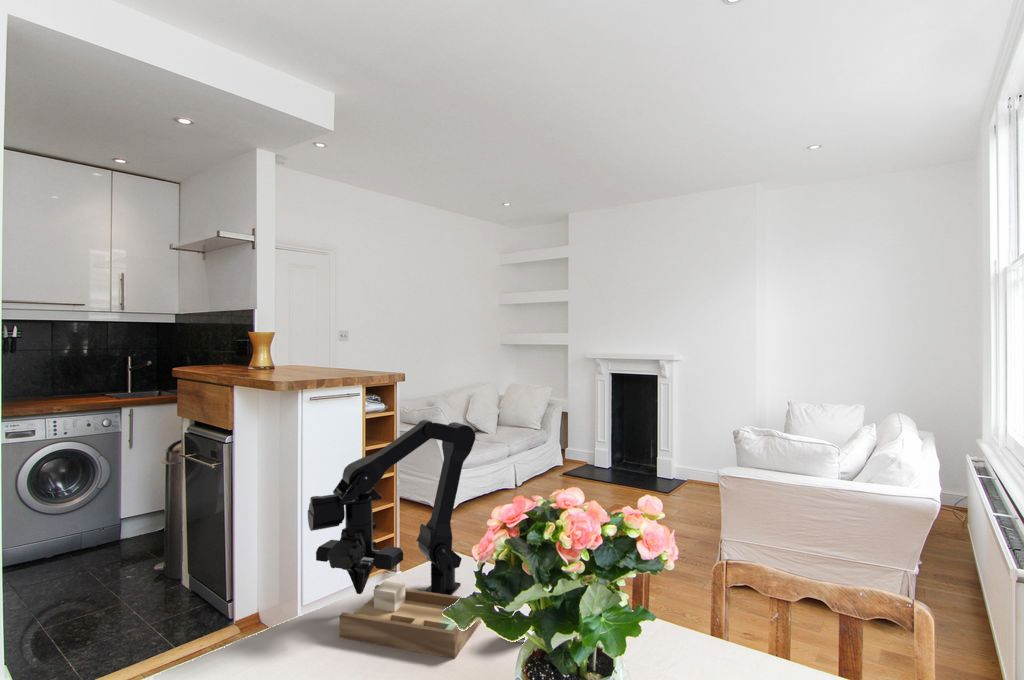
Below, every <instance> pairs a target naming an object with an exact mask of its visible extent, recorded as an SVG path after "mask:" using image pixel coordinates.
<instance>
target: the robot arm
mask: <svg viewBox="0 0 1024 680" xmlns="http://www.w3.org/2000/svg"><path fill="white" fill-rule="evenodd" d="M432 439H434V440H438V441H441V447H442V456H443V461H442V465H441V470H440V471H441V472H440V475H439V481H438V485H437V489H436V493H435V497H434V503H433V506H432V512H431V515H430V519H429V520H428V522H427V523H426V524H425V523H421V524H420V526H419V534H418V536H417V539H416V542H418V549H419V550H420V552H421V554H423V555H424V556H425V557H426V560H427V561H429V562H431V563H430V585H429V587H427V588H426V589H425V590H424V591H425V592H432V593H439V594H446V595H452V596H453V594H454V593H455V592H456V591H457V590H458V589H459V588H460V587H461V582H456V569H457V568H458V569H459V568H460V565H461V563H462V557H461V556H460V555H458V553H456V552H455V551H454V550H453V531H452V524H451V520H452V517H453V512H454V507H455V503H456V499H457V498H456V497H457V493H458V490H459V489H458V488H459V484H460V478H461V474H462V469H463V465H464V462H465V461H466V459H468V457H469V455H470V454H471V453H472V450H473V446H474V444H475V441H476V432H475V430H474V429H473V428H472V427H471V426H470V425H468V424H464V423H460V422H457V421H456V422H450V423H448V424H444V423H440V422H435V421H431V420H428V419H422V420H420V421H419V422H418V423H417V424H416V425H415V426H414V427H412V428H410V429H409V430H408V431H406V432H405V433H403V434H402V435H400V436H399V437H397V438H396V439H395V440H394V439H393V441H391V442H390V443H389V444H387V445H386V446H384V447H383V448H381V449H380V450H378V451H377V452H375V453H372V454H370V455H367V456H363V457H361V458H359V459H357V460H354V461H353V462H350V463H349V464H347V465H346V466H345V467H344V469H343V472H342V478H341V479H340V480H339V482H338V484H337V485H336V487H335V488H334V489H333V490H332V493H333V494H328V495H314V496H311V497H309V501H310V502H309V505H308V510H307V522H308V528H309V531H310V532H312V531H319V530H324V529H330V528H335V527H339V526H340V524H343V521H344V520H345V527H344V528H342V529H341V533H340V538H339V539H337V540H336V539H330V540H328V541H326V542H324V543H323V544H321V545H319V546H318V547H317V549H316V551H315V561H317V562H325V563H327V562H329V567H330V568H331V569H341V570H343V571H344V570H345V571H346V572H347V573H348V575H349V577H350V580H351V582H352V585H353V588H354V591H355V593H356V594H357V595H361V594H363V592H364V590H365V587H366V586H367V582H368V580H369V578H370V575H371V573H372V571H373V569H374V567H375V568H376V569H377V570H385V571H389V570H393V568H395V567H396V566H398V565H399V564H400V563H401V562H402V561H404V552H403V549H402V548H401V547H396V546H390V545H389V546H388V545H386V546H385V547H382V549H380V550H378V549H377V550H376V549H375V548H376V547H377V541H375V540H374V539H373V538H374V537H373V536H374V534H373V533H374V531H373V530H374V529H376V528H377V523H376V522H373V520H374V519H373V518H374V517H373V501H379V500H382V499H383V496H382V495H381V494H380V493H378V492H377V490H376V489H375V488H374V487H375V486H376V485H377V484H379V482H380V481H381V480H382V479H383V477H384V476H385V474H386V472H388V470H390V468H391V467H393V466H394V465H396V464H397V463H398V462H400V461H402V460H403V459H404V458H405V457H407V456H409V455H410V454H411V453H413V452H414V451H416V450H417V449H419V448H420V447H421V446H422V445H424V444H425V443H427V442H428V441H429V440H432Z"/></svg>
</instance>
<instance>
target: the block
mask: <svg viewBox="0 0 1024 680" xmlns="http://www.w3.org/2000/svg"><path fill="white" fill-rule="evenodd" d="M378 585H379V586H378V587H376V588H375V587H374V589H373V597H374V609H379V610H386V611H392V612H395V611H396V610H397V609H399V608H400V607H401V606H402V605H403V604H404V603H405V589H406V583H405V582H404V583H403V582H396V581H391V580H383V582H382V583H380V584H378Z"/></svg>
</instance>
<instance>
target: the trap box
mask: <svg viewBox="0 0 1024 680" xmlns="http://www.w3.org/2000/svg"><path fill="white" fill-rule="evenodd" d="M379 585H380V584H376V585H375V586H374V589H375V588H376V587H378V586H379ZM460 597H461V596H457V595H453V594H452V595H446V594H439V593H432V592H425V590H417V589H410V588H405V603H404V604H403V605H402V606H401V607H400V608H399V609H397V610H396V611H395V612H392V611H386V610H379V609H374V596H372V597H371V598H370V599H368V601H367V602H365V603H364V604H362V605H361V607H359V608H358V609H357V610H356V611H354V612H353V613H348V612H342V611H341V613H340V614H339V622H338V623H339V626H338V627H339V633H338V634H339V638H341V639H346V640H351V639H352V640H351V641H357V640H358V642H362V641H363V642H364V643H370V644H372V645H373V644H374V645H379V646H385V647H390V648H396V649H401V650H407V651H413V652H417V653H422V654H428V655H434V656H439V657H445V658H451V659H456V658H457V657H458V655H459V653H460V652H461V651H462V649H464V647H465V646H466V644H467V642H468V641H469V640H470V638H471V637H472V636H473V634H474V633H475V632H476V631H477V628H478V627H479V626H480V624H481V623H482V622H481V621H480V620H478V621H476V622H475V623H474V624H473V625H472V626H471V627H469V628H468V629H467V630H465V631H461V630H459V629H458V627H457V625H455V624H454V622H452V621H451V620H450V619H448V618H446V617H444V616H443V615H442V611H443V610H444V609H445V608H447V607H449V606H450V605H452V604H454V603H455V602H456V601H457V600H458V599H459V598H460Z"/></svg>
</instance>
